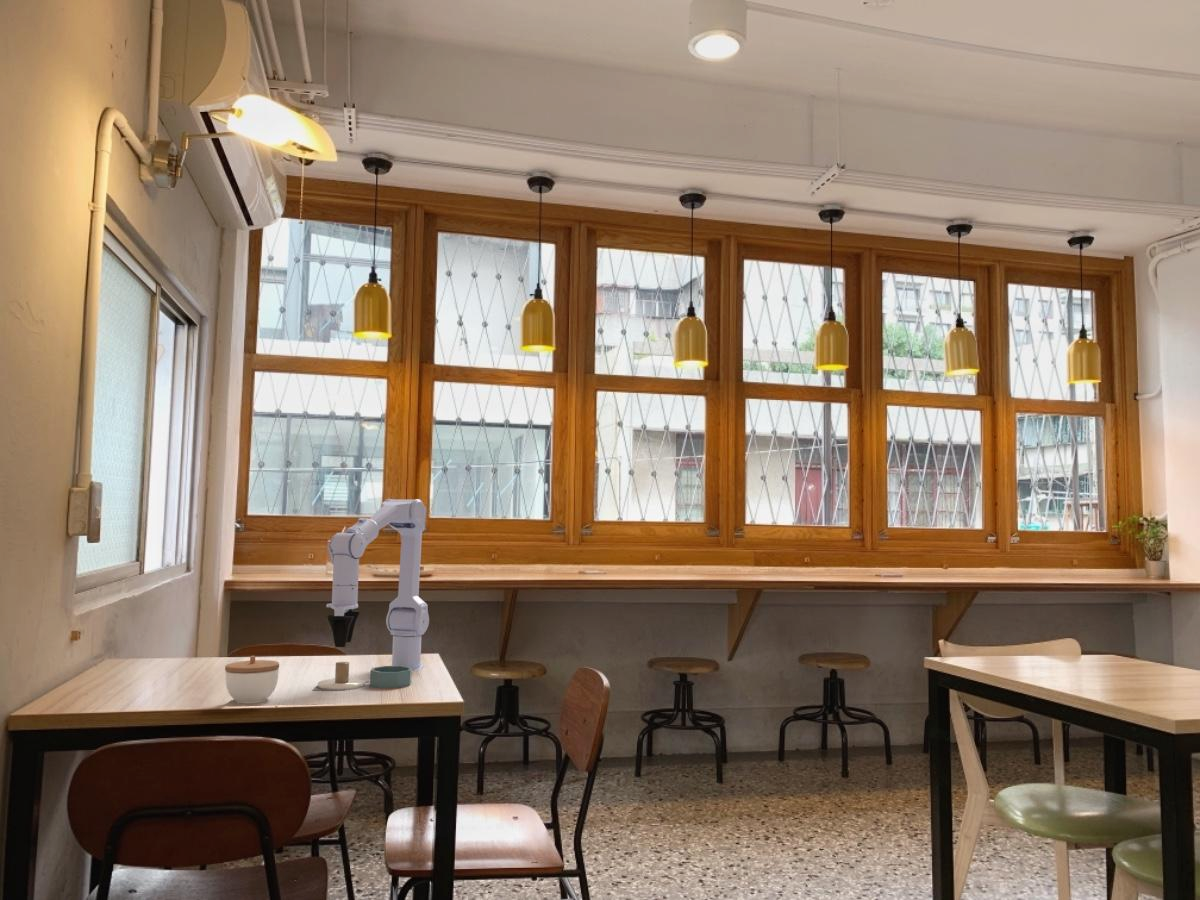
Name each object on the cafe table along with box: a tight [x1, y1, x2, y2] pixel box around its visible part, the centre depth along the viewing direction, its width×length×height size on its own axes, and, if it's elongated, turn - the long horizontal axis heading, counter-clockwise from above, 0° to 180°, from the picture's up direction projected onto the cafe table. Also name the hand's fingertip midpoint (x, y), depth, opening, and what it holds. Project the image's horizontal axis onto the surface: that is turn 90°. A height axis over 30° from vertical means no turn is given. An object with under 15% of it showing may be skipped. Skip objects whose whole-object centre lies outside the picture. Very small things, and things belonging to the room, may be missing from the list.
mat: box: [311, 680, 370, 692], centre depth 209 cm, size 11×11×1 cm
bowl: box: [369, 665, 413, 689], centre depth 212 cm, size 9×9×4 cm
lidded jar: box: [224, 655, 280, 704], centre depth 193 cm, size 11×11×9 cm
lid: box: [317, 661, 366, 691], centre depth 209 cm, size 10×10×5 cm
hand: (343, 644), depth 210 cm, fingers open, 7 cm apart
